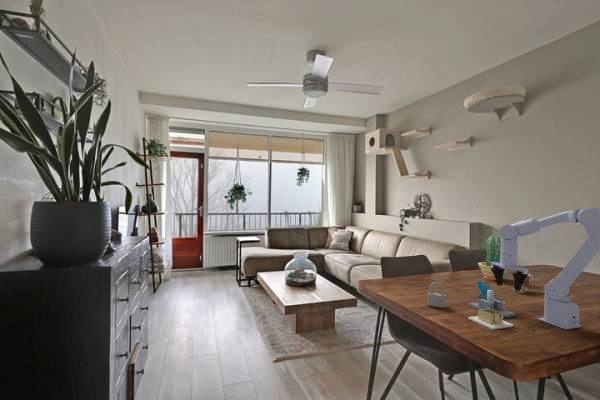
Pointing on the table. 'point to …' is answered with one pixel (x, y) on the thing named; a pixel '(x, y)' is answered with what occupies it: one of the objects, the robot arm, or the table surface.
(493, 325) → the mat
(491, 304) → the vise
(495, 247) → the potted cactus
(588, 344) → the table surface
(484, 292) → the gear
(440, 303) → the padlock
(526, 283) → the bull figurine
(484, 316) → the sleeve
